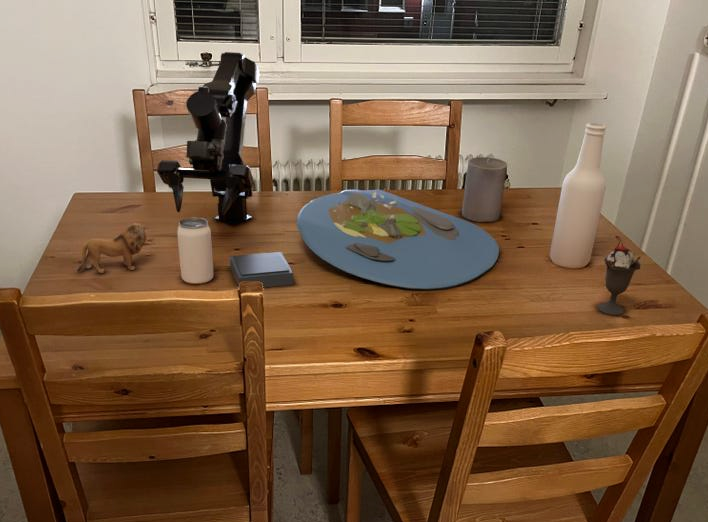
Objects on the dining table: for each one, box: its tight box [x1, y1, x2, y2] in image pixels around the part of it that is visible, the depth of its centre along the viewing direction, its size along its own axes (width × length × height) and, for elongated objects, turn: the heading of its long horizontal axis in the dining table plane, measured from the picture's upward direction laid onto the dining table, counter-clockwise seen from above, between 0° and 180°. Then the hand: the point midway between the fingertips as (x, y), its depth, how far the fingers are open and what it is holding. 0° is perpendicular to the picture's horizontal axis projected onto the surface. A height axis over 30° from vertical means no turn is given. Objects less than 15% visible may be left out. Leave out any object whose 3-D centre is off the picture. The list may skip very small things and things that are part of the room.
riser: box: [229, 251, 294, 289], centre depth 152 cm, size 11×11×3 cm
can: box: [176, 216, 214, 285], centre depth 148 cm, size 6×6×12 cm
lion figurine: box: [76, 222, 147, 274], centre depth 151 cm, size 15×5×9 cm, turn 116°
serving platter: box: [296, 187, 500, 291], centre depth 165 cm, size 45×43×12 cm
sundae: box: [597, 235, 642, 316], centre depth 141 cm, size 7×7×15 cm
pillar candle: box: [461, 156, 508, 223], centre depth 184 cm, size 10×10×15 cm
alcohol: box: [549, 121, 607, 269], centre depth 157 cm, size 9×9×30 cm
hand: (200, 212), depth 149 cm, fingers open, 9 cm apart
